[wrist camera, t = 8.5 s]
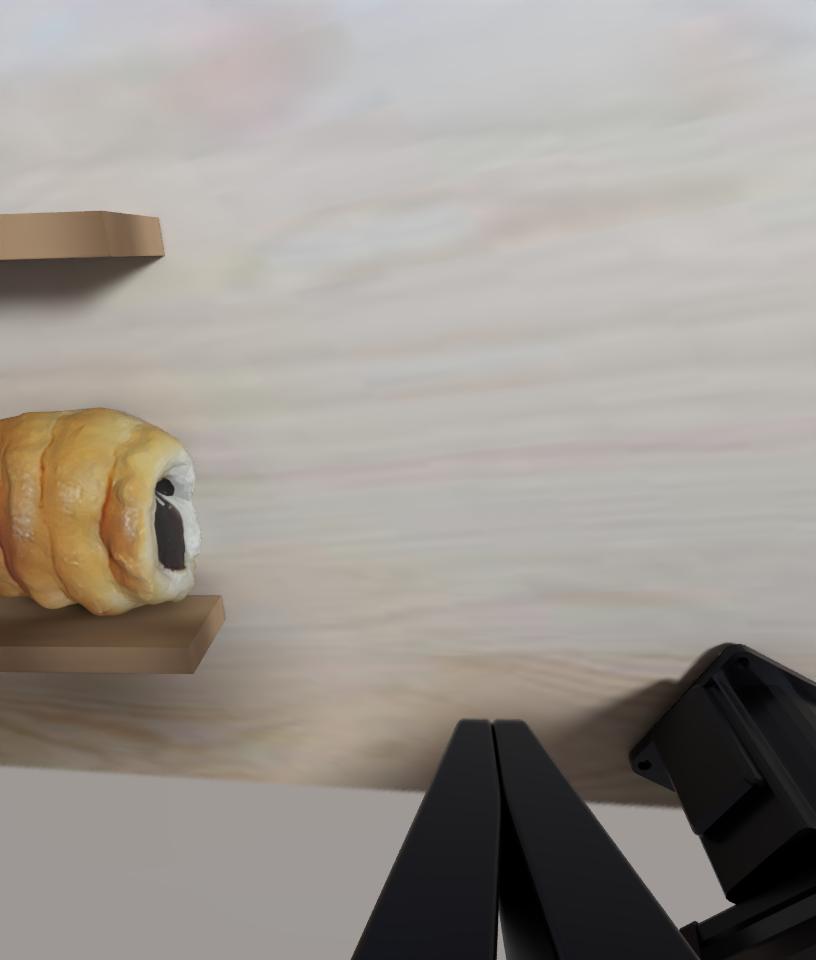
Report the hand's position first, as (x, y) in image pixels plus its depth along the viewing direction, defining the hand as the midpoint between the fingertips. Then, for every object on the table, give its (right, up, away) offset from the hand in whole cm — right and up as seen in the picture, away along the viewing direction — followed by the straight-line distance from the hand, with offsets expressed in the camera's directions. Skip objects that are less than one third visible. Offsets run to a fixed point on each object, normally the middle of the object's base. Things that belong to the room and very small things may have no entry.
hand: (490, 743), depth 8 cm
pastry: (-12, +3, +13) cm, 18 cm away
